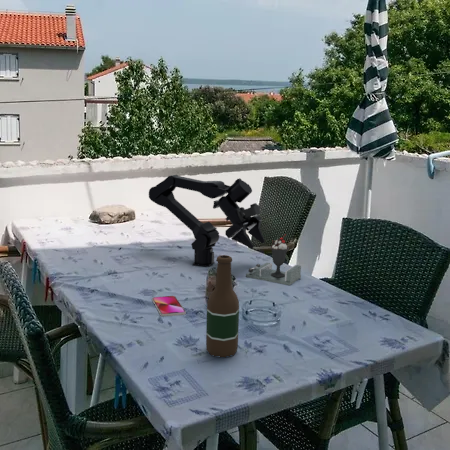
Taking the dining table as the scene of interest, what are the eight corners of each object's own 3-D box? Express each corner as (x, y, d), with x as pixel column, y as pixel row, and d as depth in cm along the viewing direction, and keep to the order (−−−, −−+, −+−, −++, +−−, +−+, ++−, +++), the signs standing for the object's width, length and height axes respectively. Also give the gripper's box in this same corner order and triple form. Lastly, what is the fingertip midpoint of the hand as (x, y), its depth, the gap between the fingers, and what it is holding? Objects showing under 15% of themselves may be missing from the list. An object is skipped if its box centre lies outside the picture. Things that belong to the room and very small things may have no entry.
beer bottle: (205, 344, 138) (206, 252, 132) (236, 344, 138) (239, 252, 133) (206, 358, 130) (208, 261, 125) (239, 358, 131) (242, 261, 125)
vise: (245, 276, 192) (246, 264, 191) (258, 269, 200) (258, 257, 199) (289, 285, 184) (290, 272, 183) (300, 277, 193) (301, 265, 192)
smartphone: (174, 295, 170) (186, 312, 157) (174, 298, 171) (186, 315, 157) (151, 297, 168) (161, 314, 154) (151, 300, 168) (161, 317, 154)
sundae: (289, 278, 188) (291, 235, 185) (270, 278, 188) (272, 235, 185) (285, 272, 195) (288, 231, 192) (267, 272, 194) (269, 231, 191)
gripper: (234, 200, 184) (262, 236, 181) (258, 193, 200) (284, 227, 197) (213, 220, 189) (240, 256, 187) (238, 211, 205) (263, 244, 203)
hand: (258, 245), depth 193 cm, fingers open, 9 cm apart
